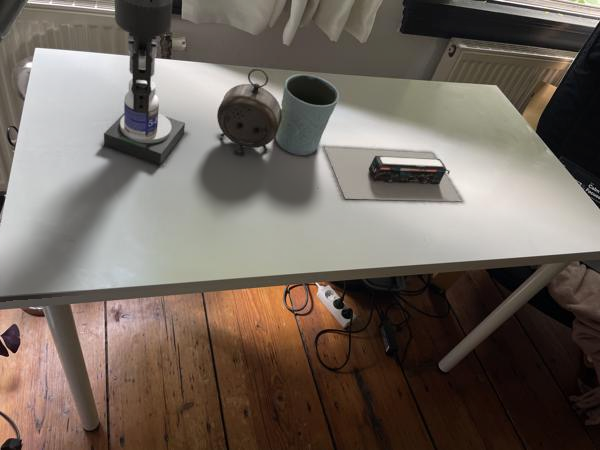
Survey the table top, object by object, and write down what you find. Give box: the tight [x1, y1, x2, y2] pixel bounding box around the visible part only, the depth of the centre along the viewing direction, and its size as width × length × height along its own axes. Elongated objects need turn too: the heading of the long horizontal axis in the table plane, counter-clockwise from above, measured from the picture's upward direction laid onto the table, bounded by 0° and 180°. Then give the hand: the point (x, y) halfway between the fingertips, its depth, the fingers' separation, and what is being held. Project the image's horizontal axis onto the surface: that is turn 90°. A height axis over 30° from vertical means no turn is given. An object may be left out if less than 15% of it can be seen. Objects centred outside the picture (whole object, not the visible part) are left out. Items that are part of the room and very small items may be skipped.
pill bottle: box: [123, 78, 160, 140], centre depth 79 cm, size 5×5×9 cm
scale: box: [103, 112, 186, 165], centre depth 85 cm, size 10×10×3 cm
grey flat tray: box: [324, 147, 462, 202], centre depth 95 cm, size 14×25×4 cm, turn 103°
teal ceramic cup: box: [275, 73, 340, 156], centre depth 92 cm, size 10×10×12 cm
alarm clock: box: [216, 67, 282, 154], centre depth 85 cm, size 11×5×16 cm, turn 80°
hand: (141, 95), depth 78 cm, fingers open, 8 cm apart
